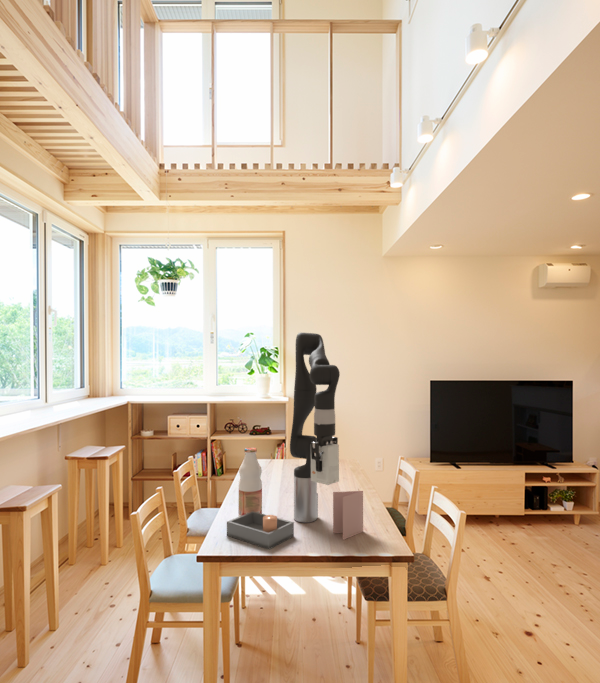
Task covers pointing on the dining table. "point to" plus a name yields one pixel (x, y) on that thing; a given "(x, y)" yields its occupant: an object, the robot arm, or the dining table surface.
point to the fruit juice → (250, 484)
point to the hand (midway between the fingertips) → (324, 469)
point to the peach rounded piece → (269, 523)
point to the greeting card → (348, 513)
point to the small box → (327, 465)
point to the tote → (259, 530)
